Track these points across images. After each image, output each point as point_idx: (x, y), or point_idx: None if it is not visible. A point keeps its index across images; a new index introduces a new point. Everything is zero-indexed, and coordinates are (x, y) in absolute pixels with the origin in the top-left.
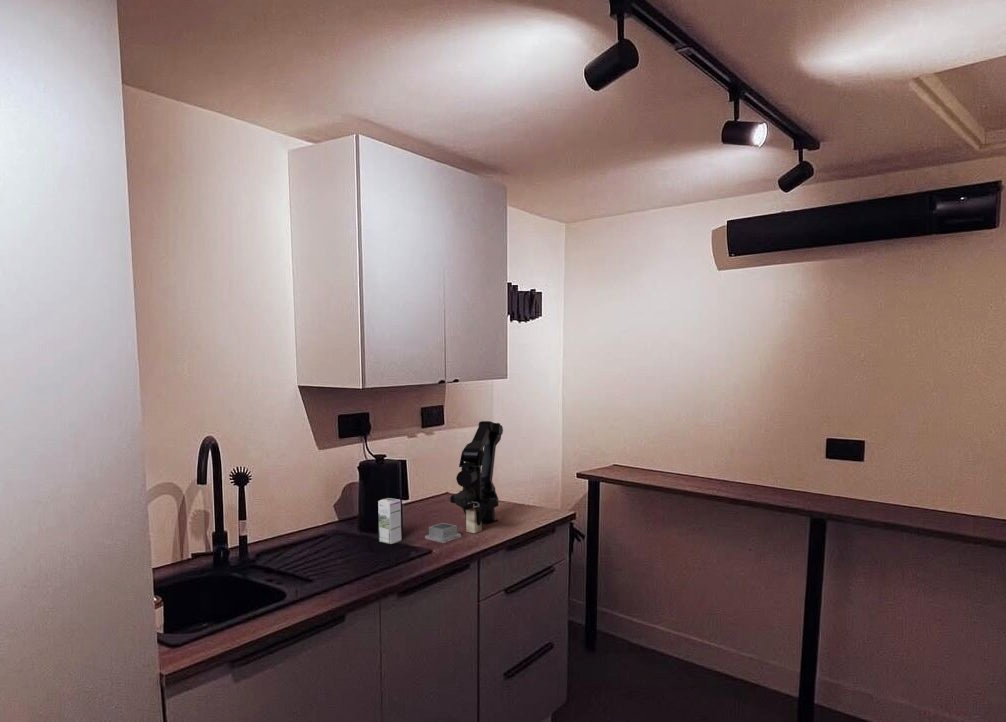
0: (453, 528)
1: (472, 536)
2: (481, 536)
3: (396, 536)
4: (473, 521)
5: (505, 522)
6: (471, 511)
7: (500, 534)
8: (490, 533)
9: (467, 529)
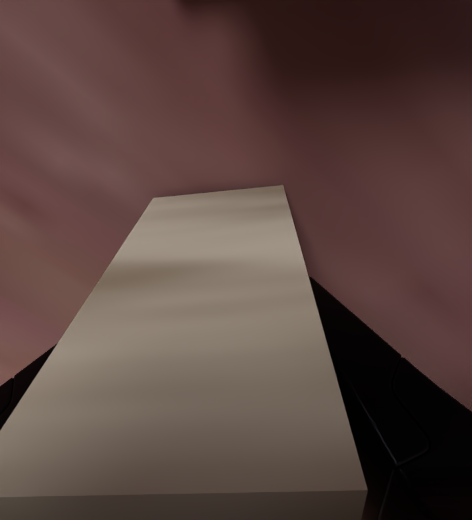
0: None
1: (85, 109)
2: (27, 184)
3: None
4: (122, 276)
5: None
6: (98, 465)
7: (5, 328)
8: (79, 302)
9: (266, 198)
